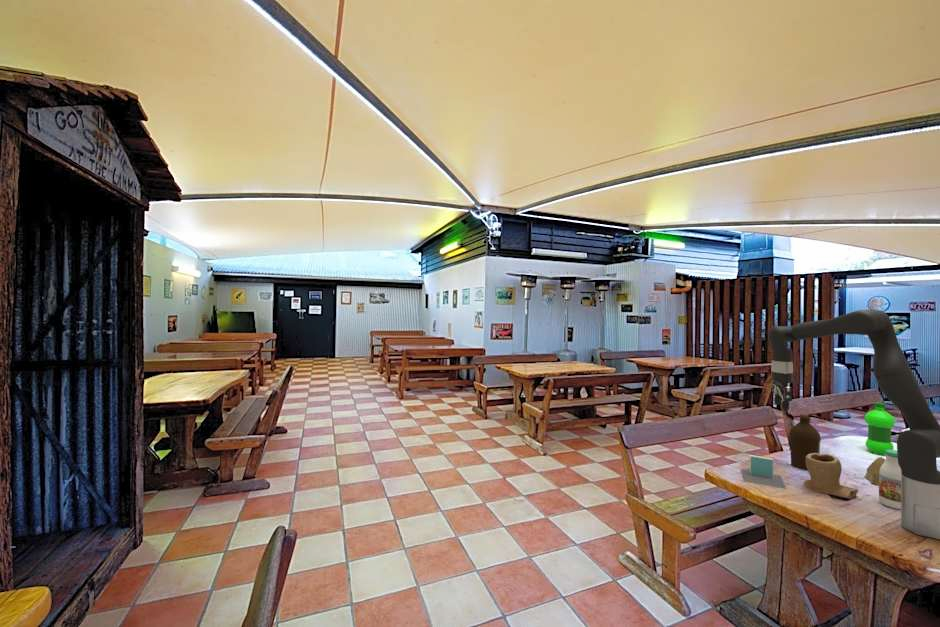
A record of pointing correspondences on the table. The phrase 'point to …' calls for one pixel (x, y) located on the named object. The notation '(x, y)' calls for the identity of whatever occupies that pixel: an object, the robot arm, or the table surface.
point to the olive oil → (803, 441)
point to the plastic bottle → (879, 429)
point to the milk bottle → (890, 481)
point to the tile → (761, 466)
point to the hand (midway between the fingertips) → (781, 407)
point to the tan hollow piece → (826, 475)
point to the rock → (874, 470)
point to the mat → (763, 479)
